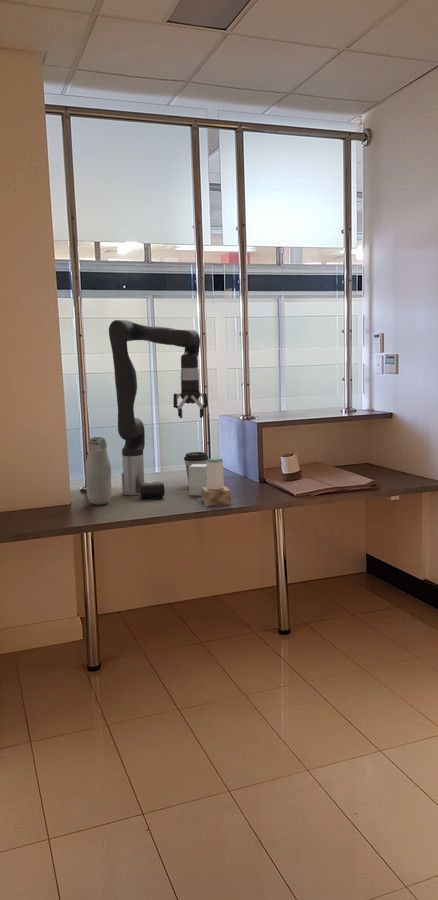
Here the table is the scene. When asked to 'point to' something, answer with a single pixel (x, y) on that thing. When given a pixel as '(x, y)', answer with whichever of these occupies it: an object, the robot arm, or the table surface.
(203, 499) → the oak box
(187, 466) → the coffee cup
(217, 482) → the cream carton
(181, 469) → the table surface
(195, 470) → the supplement box
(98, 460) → the glass bottle
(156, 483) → the end cap
